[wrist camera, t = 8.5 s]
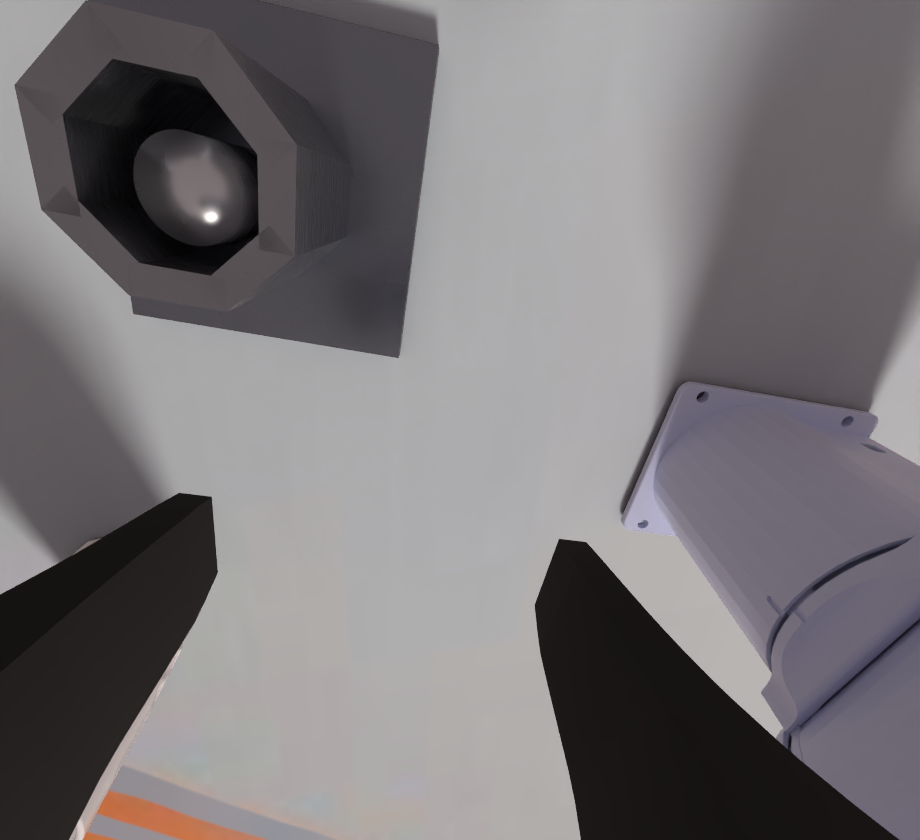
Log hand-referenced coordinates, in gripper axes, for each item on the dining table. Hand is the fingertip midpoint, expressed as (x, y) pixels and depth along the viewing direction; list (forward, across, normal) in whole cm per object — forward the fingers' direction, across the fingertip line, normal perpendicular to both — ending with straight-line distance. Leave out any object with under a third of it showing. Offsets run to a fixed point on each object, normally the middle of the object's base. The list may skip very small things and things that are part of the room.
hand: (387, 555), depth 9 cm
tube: (+10, +6, -6) cm, 13 cm away
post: (+10, +6, -6) cm, 13 cm away
